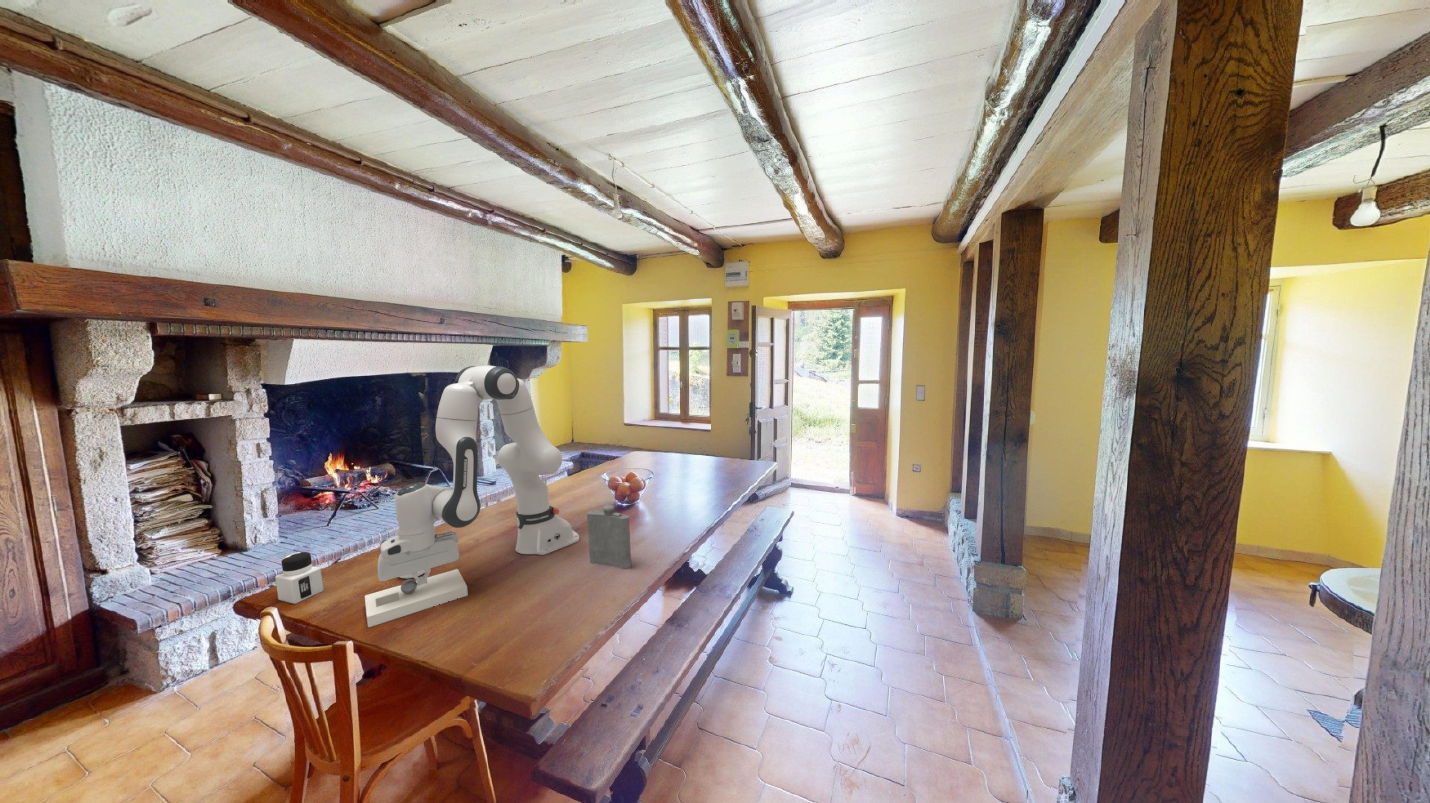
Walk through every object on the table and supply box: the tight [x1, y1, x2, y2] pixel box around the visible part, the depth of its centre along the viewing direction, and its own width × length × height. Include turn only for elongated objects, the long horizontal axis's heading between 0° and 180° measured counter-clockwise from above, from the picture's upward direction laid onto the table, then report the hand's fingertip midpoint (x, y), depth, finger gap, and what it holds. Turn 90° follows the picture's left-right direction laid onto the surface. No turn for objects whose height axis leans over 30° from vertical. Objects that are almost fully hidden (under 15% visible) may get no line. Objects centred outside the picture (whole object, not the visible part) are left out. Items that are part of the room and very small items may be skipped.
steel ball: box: [401, 578, 417, 594], centre depth 133 cm, size 4×4×4 cm
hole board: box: [364, 568, 469, 628], centre depth 135 cm, size 24×14×3 cm, turn 129°
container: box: [274, 551, 324, 605], centre depth 138 cm, size 8×8×13 cm
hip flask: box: [586, 504, 632, 570], centre depth 155 cm, size 16×4×20 cm, turn 69°
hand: (422, 583), depth 135 cm, fingers closed
